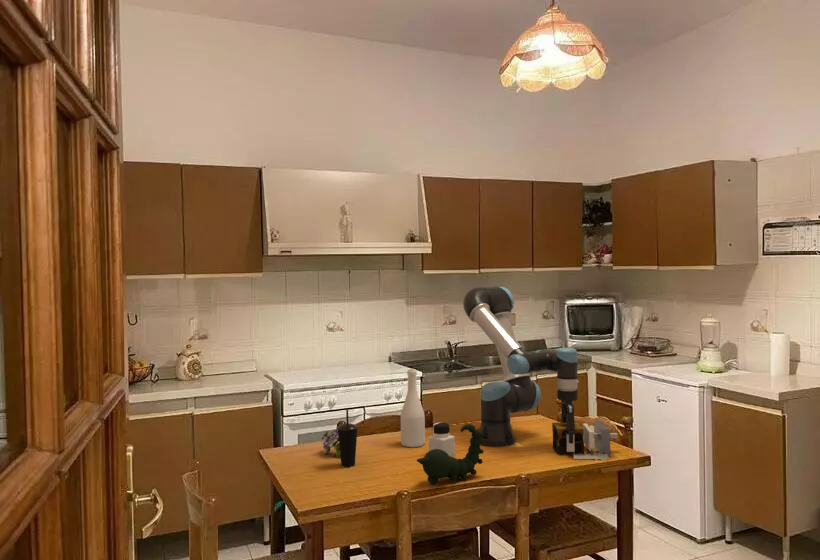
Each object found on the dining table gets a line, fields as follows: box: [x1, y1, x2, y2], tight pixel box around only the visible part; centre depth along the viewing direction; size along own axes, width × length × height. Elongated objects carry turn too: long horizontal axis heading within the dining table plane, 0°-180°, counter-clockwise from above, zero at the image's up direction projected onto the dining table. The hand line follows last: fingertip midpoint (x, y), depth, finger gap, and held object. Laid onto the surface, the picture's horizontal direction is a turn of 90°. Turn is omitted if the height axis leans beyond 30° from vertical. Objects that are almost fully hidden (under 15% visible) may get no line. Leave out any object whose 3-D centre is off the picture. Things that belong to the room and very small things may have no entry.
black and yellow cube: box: [551, 421, 585, 456], centre depth 239 cm, size 10×10×10 cm
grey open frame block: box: [572, 420, 611, 461], centre depth 237 cm, size 14×18×10 cm
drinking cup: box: [336, 408, 359, 468], centre depth 227 cm, size 8×8×20 cm
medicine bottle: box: [428, 421, 456, 457], centre depth 237 cm, size 7×7×12 cm
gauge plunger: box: [582, 423, 619, 454], centre depth 237 cm, size 12×16×7 cm
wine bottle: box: [400, 368, 426, 448], centre depth 252 cm, size 10×10×30 cm
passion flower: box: [321, 429, 341, 459], centre depth 241 cm, size 11×11×12 cm
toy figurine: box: [416, 423, 484, 486], centre depth 208 cm, size 9×19×25 cm
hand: (568, 447), depth 240 cm, fingers open, 11 cm apart
